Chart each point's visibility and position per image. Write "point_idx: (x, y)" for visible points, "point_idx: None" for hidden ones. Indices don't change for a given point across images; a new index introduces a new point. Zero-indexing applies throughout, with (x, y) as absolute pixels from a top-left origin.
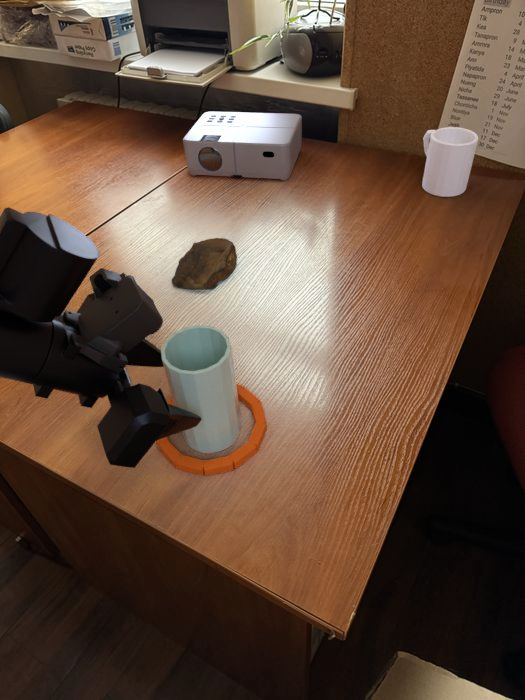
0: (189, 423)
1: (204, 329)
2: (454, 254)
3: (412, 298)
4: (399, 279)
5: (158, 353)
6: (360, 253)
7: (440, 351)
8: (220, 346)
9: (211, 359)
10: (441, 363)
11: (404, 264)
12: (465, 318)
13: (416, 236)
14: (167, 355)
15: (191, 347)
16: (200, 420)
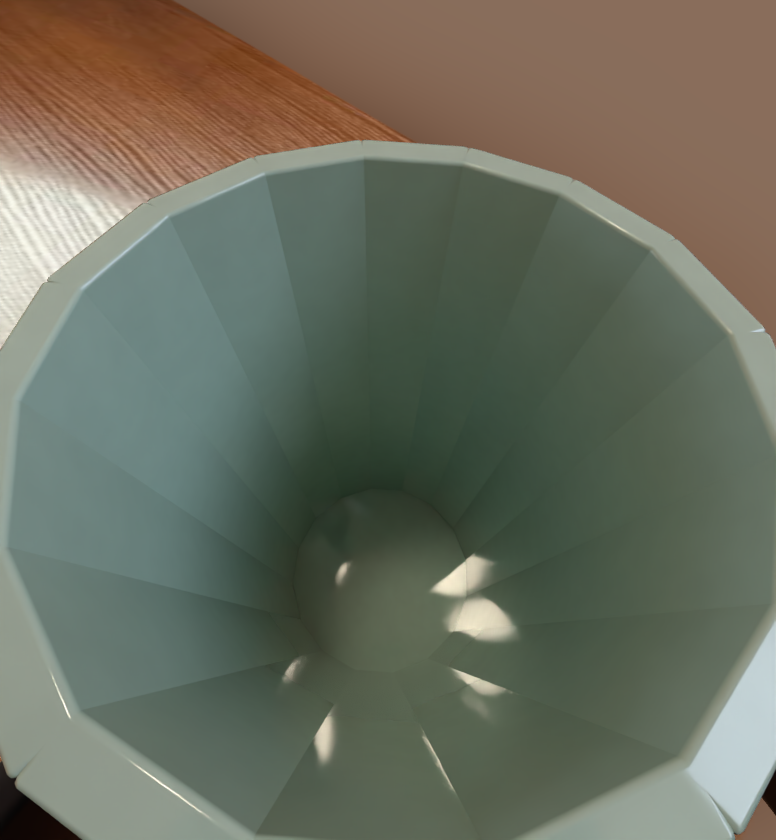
0: None
1: (141, 266)
2: (139, 28)
3: (200, 100)
4: (136, 95)
5: (24, 814)
6: (3, 109)
7: (348, 119)
8: (291, 304)
9: (257, 433)
10: (375, 127)
11: (102, 76)
12: (294, 73)
13: (44, 40)
14: (258, 756)
15: (168, 488)
16: None
